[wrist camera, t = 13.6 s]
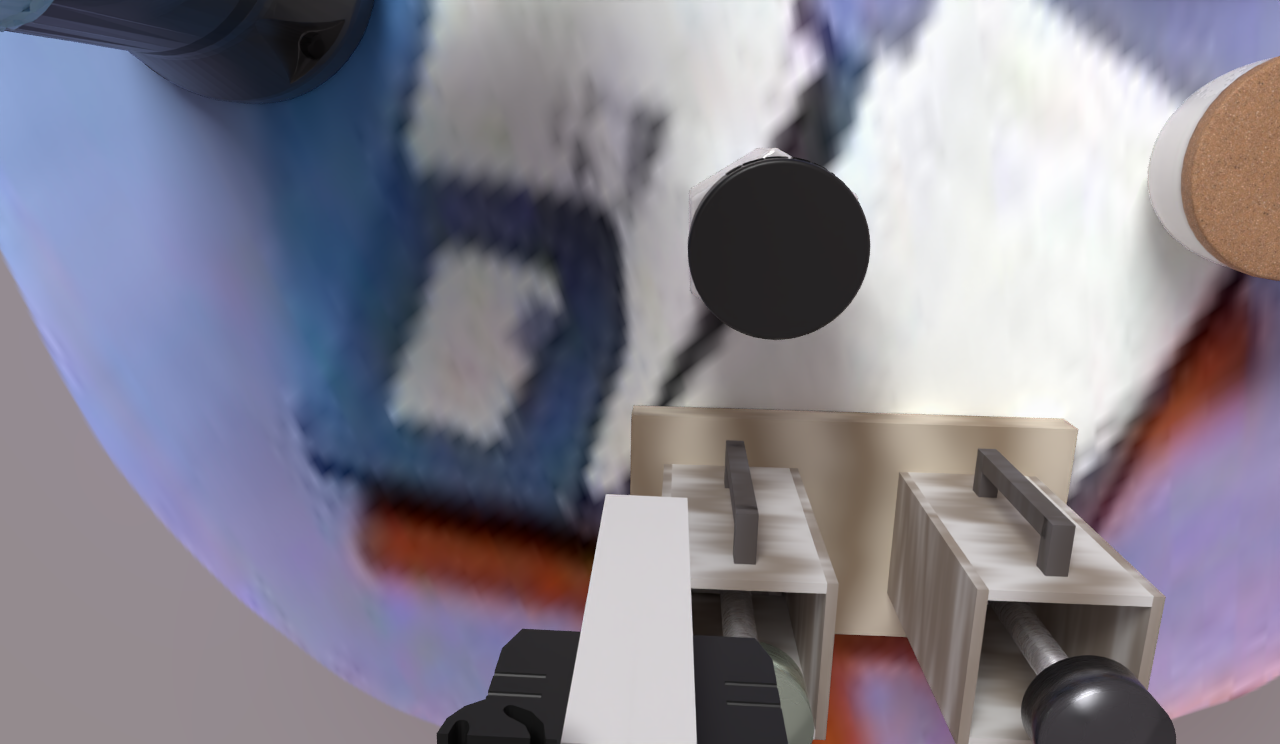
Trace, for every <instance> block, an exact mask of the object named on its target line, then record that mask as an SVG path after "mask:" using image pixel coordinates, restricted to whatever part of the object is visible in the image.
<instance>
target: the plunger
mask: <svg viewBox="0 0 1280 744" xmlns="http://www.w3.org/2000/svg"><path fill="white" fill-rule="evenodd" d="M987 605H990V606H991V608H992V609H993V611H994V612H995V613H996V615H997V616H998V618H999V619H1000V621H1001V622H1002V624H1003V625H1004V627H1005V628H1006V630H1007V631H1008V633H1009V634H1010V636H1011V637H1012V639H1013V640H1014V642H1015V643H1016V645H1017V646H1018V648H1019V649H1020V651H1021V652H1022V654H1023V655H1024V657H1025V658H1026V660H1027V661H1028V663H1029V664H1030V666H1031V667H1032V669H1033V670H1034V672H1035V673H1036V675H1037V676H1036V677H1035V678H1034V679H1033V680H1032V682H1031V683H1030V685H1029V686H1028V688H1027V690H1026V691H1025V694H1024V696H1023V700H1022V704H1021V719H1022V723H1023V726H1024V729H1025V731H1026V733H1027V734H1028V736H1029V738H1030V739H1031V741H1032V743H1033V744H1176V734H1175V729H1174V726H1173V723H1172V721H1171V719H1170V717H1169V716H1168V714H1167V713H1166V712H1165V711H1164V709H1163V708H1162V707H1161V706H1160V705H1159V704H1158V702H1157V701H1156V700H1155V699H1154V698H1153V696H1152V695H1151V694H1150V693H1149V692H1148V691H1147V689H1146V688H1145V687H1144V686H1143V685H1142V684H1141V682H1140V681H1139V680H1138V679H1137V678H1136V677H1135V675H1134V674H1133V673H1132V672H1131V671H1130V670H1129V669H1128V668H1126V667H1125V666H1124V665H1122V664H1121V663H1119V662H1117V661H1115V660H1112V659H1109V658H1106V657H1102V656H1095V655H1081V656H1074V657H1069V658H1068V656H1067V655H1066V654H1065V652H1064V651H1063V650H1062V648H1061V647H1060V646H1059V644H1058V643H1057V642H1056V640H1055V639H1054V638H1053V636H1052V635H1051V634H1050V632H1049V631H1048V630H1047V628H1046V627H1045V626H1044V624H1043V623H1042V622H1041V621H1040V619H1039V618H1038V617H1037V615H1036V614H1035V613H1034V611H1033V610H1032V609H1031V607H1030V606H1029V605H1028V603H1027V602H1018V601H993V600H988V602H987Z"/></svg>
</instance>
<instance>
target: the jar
mask: <svg viewBox="0 0 1280 744" xmlns="http://www.w3.org/2000/svg"><path fill="white" fill-rule="evenodd" d="M869 256H870V235H869V229H868V225H867V221H866V218H865V215H864V212H863V210H862V208H861V206H860V204H859V202H858V197H857V195H856V194H855V193H853V192H851V190H850V189H849V188H848V187H847V186H846V185H845V184H844V182H843V181H841V180H840V179H839V178H838V177H836V176H835V174H833V173H831V172H829V171H828V170H827V169H826V168H824V167H822V166H820V165H818V164H816V163H810V161H808V160H804V159H800V158H795V157H791V156H790V155H788V154H786V153H784V152H783V151H781V150H779V149H777V148H757V149H755V150H753V151H751V152H750V153H748V154H747V155H745V156H743V157H742V158H740V159H738V160H737V161H735V162H733V163H732V164H730V165H728V166H727V167H725V168H723V169H722V170H720V171H719V172H717V173H715V174H714V175H712V176H710V177H709V178H707V179H705V180H704V181H702V182H700V183H699V184H697V185H695V186H694V187H692V188H691V189H690V190H689V237H688V259H689V271H690V290H691V293H692V294H693V295H695V296H697V297H699V298H700V299H702V300H703V302H704V303H705V305H706V306H707V307H708V309H709V310H710V311H711V312H712V313H713V314H714V315H715V316H716V317H717V318H718V319H720V320H721V321H722V322H723V323H725V324H726V325H728V326H729V327H731V328H733V329H735V330H737V331H739V332H741V333H743V334H746V335H749V336H752V337H756V338H762V339H771V340H781V339H791V338H796V337H800V336H803V335H806V334H809V333H812V332H814V331H816V330H818V329H820V328H822V327H824V326H825V325H827V324H828V323H830V322H831V321H833V320H834V319H835V318H836V317H838V316H839V315H840V314H841V313H842V312H843V311H844V310H845V309H846V308H847V306H848V305H849V304H850V303H851V301H852V300H853V299H854V297H855V296H856V294H857V292H858V291H859V289H860V287H861V285H862V282H863V280H864V277H865V274H866V271H867V267H868V263H869Z"/></svg>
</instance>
